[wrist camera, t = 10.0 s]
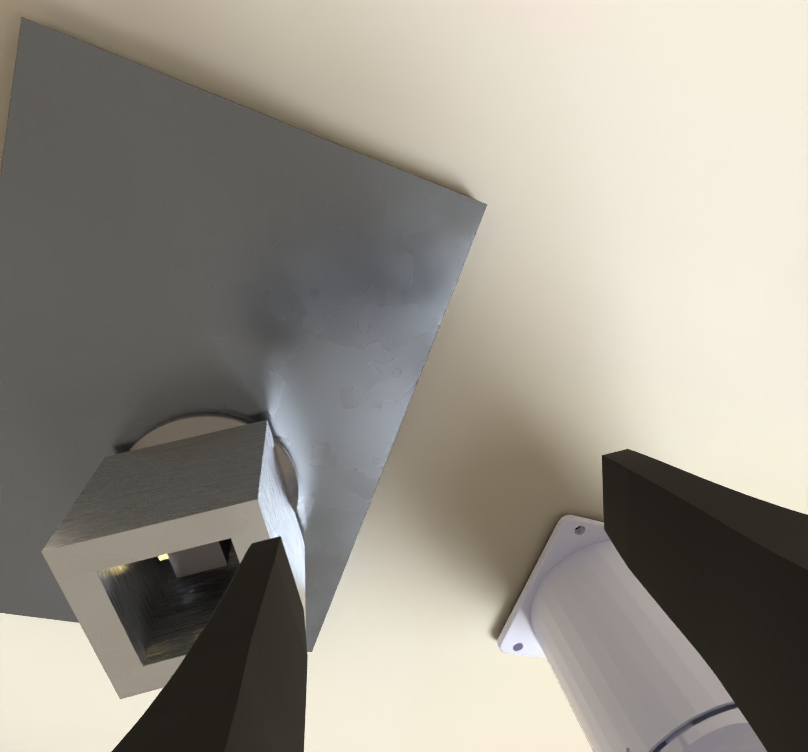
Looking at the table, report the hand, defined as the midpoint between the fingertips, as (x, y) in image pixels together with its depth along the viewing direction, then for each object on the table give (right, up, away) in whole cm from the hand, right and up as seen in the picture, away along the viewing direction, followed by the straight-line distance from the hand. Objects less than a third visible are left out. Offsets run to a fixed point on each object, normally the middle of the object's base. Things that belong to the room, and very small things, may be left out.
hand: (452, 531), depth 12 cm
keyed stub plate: (-8, +2, +8) cm, 12 cm away
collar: (-8, -1, +8) cm, 12 cm away
